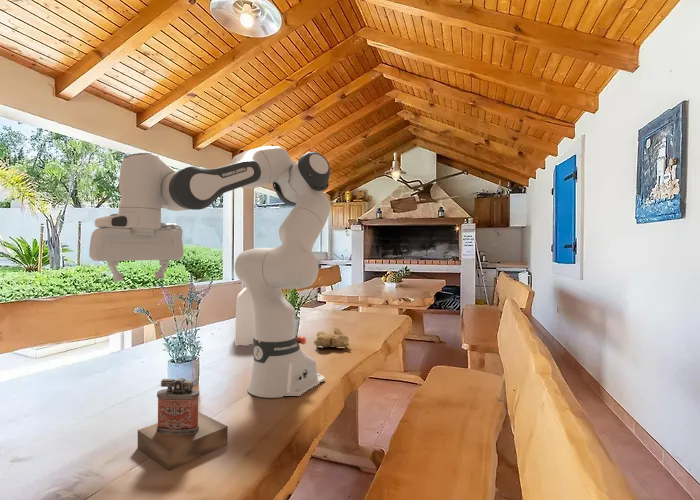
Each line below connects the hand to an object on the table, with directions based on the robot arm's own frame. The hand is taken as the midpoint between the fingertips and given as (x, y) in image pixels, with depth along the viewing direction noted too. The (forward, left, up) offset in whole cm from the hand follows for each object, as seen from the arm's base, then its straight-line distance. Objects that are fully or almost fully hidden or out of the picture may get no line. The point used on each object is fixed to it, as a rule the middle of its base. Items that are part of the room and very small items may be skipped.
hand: (139, 279), depth 93 cm
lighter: (+3, +24, -28) cm, 37 cm away
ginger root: (-74, -4, -32) cm, 81 cm away
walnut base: (+2, +24, -31) cm, 39 cm away
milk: (-59, -35, -31) cm, 76 cm away
